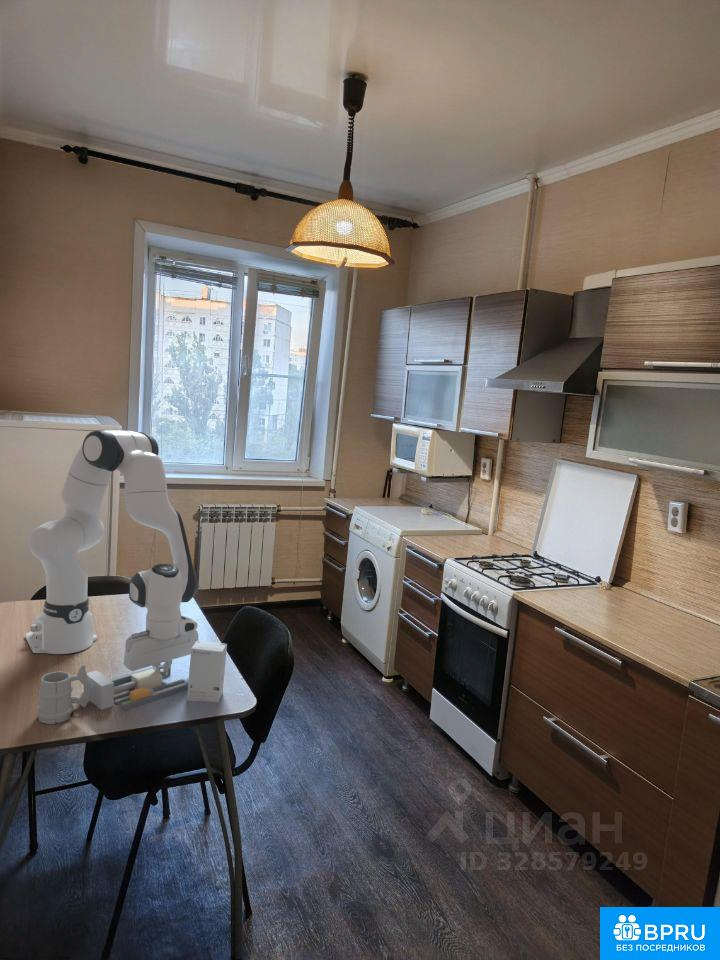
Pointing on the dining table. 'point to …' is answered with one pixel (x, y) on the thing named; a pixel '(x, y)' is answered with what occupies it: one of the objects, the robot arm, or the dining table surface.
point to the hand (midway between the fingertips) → (161, 676)
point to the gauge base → (105, 696)
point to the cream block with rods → (142, 681)
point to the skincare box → (206, 671)
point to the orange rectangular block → (139, 694)
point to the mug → (61, 695)
